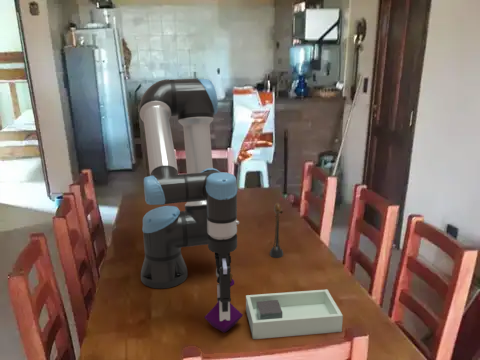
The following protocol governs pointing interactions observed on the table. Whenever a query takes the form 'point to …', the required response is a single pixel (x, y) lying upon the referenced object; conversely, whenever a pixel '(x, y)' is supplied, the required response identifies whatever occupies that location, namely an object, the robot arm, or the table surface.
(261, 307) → the block
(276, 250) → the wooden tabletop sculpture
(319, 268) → the table surface
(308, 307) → the tray
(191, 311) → the table surface
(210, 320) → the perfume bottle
